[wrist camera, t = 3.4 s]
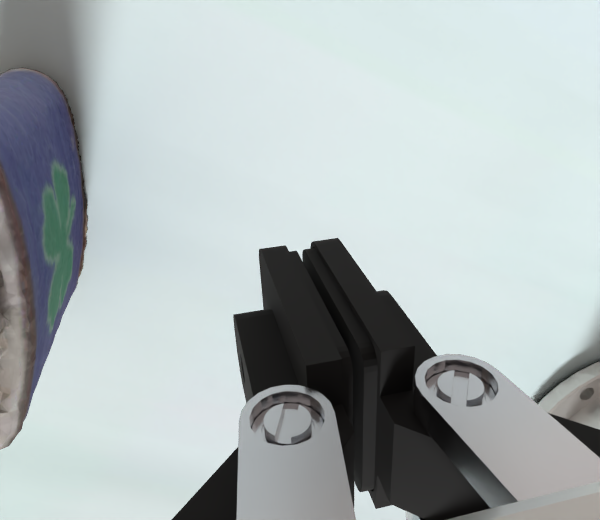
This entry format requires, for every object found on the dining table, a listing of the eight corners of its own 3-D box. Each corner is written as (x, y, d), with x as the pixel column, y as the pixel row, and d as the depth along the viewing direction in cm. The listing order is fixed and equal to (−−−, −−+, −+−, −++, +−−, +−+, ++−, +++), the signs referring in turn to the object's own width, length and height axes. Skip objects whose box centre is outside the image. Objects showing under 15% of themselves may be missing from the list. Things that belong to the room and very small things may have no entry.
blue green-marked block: (-10, 62, 18) (-202, 132, 9) (82, 72, 19) (-3, 147, 10) (13, 300, 22) (-103, 528, 13) (90, 301, 23) (34, 517, 13)
